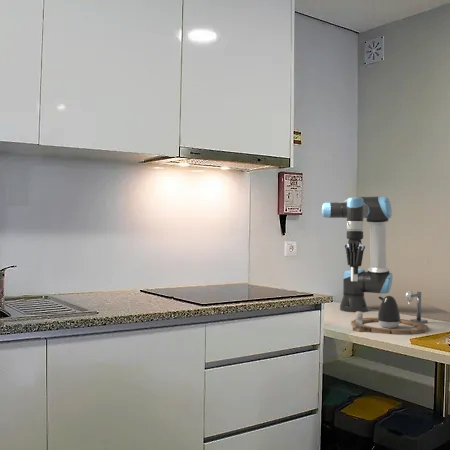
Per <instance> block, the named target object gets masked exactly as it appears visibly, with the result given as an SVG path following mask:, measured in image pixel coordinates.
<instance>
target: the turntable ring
mask: <svg viewBox="0 0 450 450" xmlns="http://www.w3.org/2000/svg"><path fill="white" fill-rule="evenodd" d="M363 314H364V312H359V311H358V312H355V319H353V320H351V321H350V325H351V326H352V331H354V332H358V333H359V332H361V333H362V332H371V333H379V334H386V335H390V334H392V335H417V334H424V333H426V332H427V331H428V330H429V329H428V328H429V327H428V326H429V325H426V323H420V322H416V321H411V320H410V319H405V318H404V319H403V318H400V321H399V324H401V325H406V326H407V325H408V326H412V327H413V328H412V327H411V328H384V327H376V326H372V325H371V326H370V325H366V324H367V323H379V320H378V317H363Z"/></svg>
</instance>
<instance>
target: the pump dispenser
mask: <svg viewBox="0 0 450 450" xmlns="http://www.w3.org/2000/svg"><path fill="white" fill-rule="evenodd" d="M378 299H379V300H381V303H380V305H379V308H378V314H377V318H378V320H379V322H378V324H379V325H380V326H381V328H386V329H397V327H398V326H399V325H400V323H399V321H400V319H401V314H400V308H399V305H398V302H397V301H396V299H395V297H394V296H392V295H386V296H384V297H382V296H378Z"/></svg>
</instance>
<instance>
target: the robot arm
mask: <svg viewBox="0 0 450 450" xmlns="http://www.w3.org/2000/svg"><path fill="white" fill-rule="evenodd" d="M392 211H393V210H392V204H391V201H390V199H389V198H388V197H387V196H356V197H355V196H354V197H348V198H346V199H345V200H344V201H336V202H324V203H323V204H322V207H321V214H322V217H323V218H324V219H325V218H328V219H342V218H343V219H346V230H347V231H346V239H347V240H348V241H347V244H345V245H344V248H345V252H346V263H347V266H349V267H350V269H347V270H345V271H344V272H343V277H342V280H343V281H342V282H343V284H342V285H343V287H342V288H343V289H342V290H343V294H342V298H341V302H340V306H339V310H340V311H343V310H344V312H350V311H351V312H354V313H356V312H358V311H359V312H363V313H364V312H367V311H368V306H367V305H368V304H367V301H366V299H365V293H367V294H368V293H370V294H380V295H382V294H385V295H386V294H389V293H390V291H391V288H392V283H393V273H392V272H390V269H389V267H388V266H387V235H386V234H387V227H386V226H387V225H386V224H388V222H389V219H391V218H392ZM364 219H366V223H367V224H368V225H369V254H370V255H369V257H370V258H369V260H370V261H369V263H370V264H369V265H370V266H369V267H368V268H367V271H366V270H365V268H359V267H362V264H363V263H362V262H363V256H364V251H365V248H366V246H365V245H362V239H364V231H363V230H364Z"/></svg>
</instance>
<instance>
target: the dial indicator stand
mask: <svg viewBox="0 0 450 450" xmlns="http://www.w3.org/2000/svg"><path fill="white" fill-rule="evenodd" d="M404 296H405V300H406V302H408V310H410V309H411V301H413V300H414V298H416V318H412V319H411V318H410V319H409V320H411V321H416V322H420V323H423V324H428V320H427V319H422V291H416V293H413V291H412V290H407V291H406V292H405V295H404Z"/></svg>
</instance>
